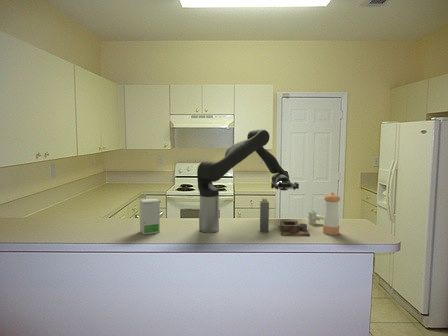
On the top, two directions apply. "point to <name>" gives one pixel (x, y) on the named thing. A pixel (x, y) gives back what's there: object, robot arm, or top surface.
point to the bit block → (293, 228)
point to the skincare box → (149, 216)
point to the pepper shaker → (331, 215)
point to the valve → (314, 217)
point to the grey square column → (264, 216)
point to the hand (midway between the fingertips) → (286, 187)
